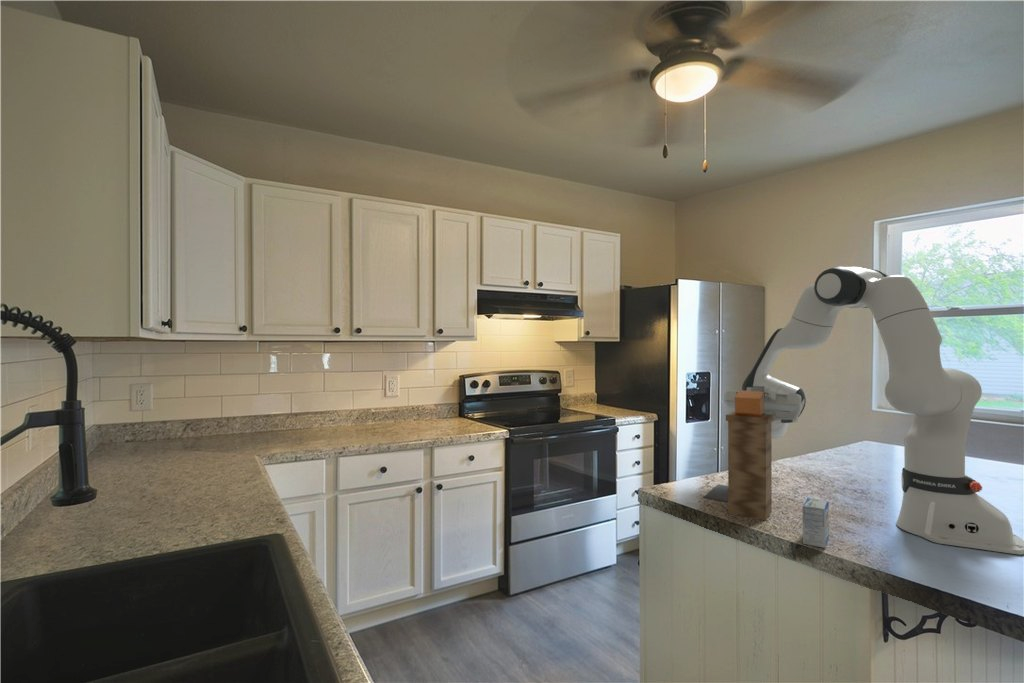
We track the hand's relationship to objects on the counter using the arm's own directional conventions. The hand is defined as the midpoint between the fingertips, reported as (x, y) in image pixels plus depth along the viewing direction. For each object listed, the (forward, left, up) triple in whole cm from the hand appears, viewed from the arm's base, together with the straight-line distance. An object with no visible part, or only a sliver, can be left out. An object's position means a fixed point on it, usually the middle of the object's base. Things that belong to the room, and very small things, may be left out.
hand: (757, 390), depth 139 cm
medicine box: (-16, +22, -32) cm, 42 cm away
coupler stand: (0, +11, -32) cm, 34 cm away
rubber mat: (+9, -3, -32) cm, 33 cm away
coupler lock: (0, +5, -4) cm, 7 cm away
